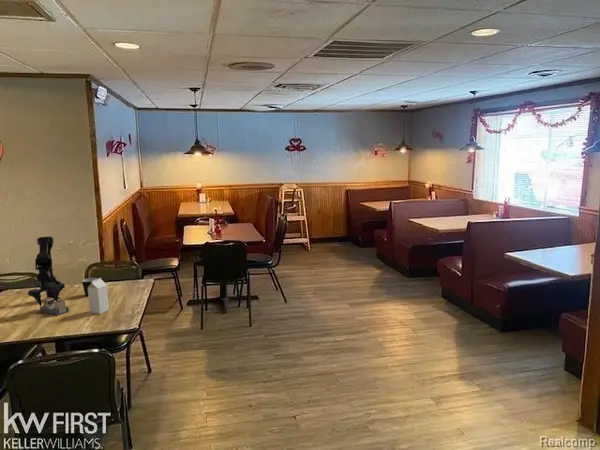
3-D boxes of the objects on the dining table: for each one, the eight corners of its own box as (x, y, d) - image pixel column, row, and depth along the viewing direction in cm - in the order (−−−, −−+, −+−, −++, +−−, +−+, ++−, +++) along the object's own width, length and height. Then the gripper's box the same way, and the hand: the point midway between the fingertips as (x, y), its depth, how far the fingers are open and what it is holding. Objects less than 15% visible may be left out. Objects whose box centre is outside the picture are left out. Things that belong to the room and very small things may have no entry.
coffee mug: (92, 297, 288) (91, 282, 286) (80, 296, 290) (78, 281, 288) (104, 291, 299) (102, 276, 298) (92, 291, 301) (90, 276, 299)
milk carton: (109, 310, 264) (106, 278, 261) (100, 314, 257) (96, 281, 254) (99, 308, 266) (96, 277, 263) (90, 313, 260) (86, 280, 257)
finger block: (43, 309, 265) (42, 299, 264) (50, 307, 269) (49, 297, 268) (49, 310, 263) (47, 300, 262) (55, 308, 266) (54, 298, 265)
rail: (40, 311, 265) (38, 299, 263) (52, 307, 271) (50, 296, 270) (56, 315, 257) (55, 303, 255) (68, 311, 263) (67, 300, 262)
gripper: (37, 283, 251) (40, 310, 253) (69, 275, 267) (72, 300, 269) (25, 281, 256) (29, 307, 259) (57, 272, 272) (60, 298, 275)
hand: (48, 303), depth 265 cm, fingers open, 9 cm apart
